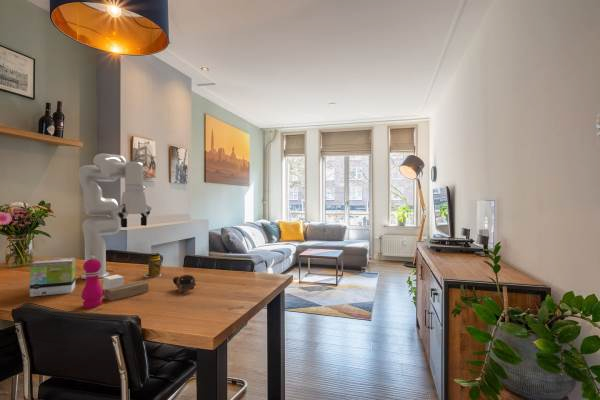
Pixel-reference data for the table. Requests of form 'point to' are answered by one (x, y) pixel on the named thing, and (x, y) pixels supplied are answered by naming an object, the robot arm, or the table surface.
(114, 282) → the block
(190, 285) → the pottery mug
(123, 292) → the board
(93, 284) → the pepper mill
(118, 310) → the table surface
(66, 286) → the tea box
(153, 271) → the condiment
